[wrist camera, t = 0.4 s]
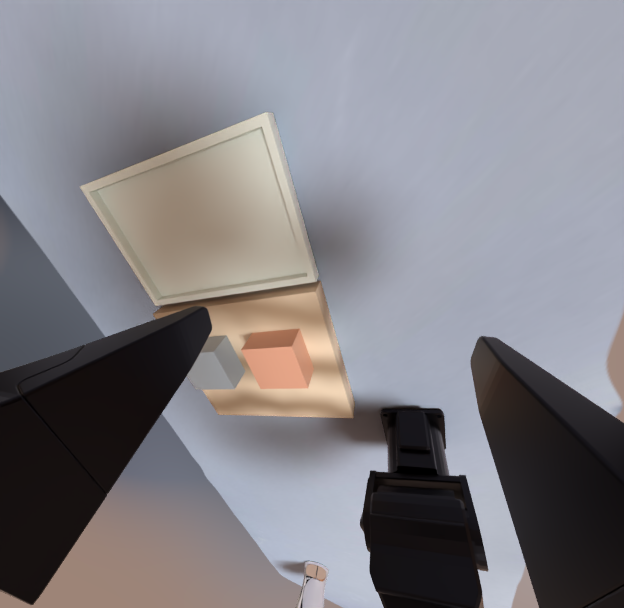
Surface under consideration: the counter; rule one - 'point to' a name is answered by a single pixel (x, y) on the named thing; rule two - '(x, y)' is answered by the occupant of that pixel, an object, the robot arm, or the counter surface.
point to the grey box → (216, 366)
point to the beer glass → (313, 586)
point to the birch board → (272, 317)
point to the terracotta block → (279, 359)
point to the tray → (209, 216)
